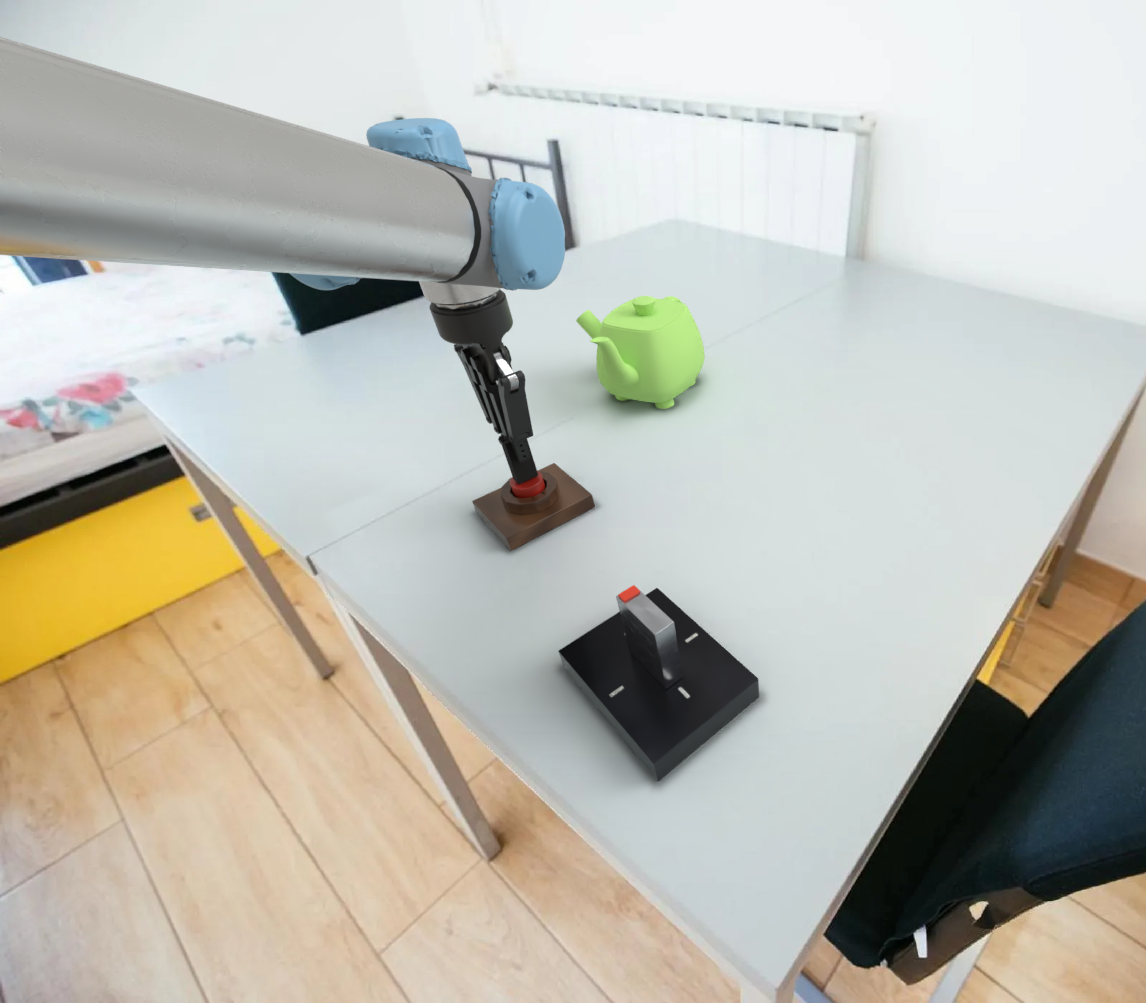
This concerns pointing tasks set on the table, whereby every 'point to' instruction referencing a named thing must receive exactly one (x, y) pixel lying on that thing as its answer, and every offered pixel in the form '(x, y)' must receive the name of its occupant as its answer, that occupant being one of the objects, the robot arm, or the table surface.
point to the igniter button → (528, 487)
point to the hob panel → (661, 688)
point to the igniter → (533, 508)
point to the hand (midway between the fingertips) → (525, 477)
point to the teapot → (646, 349)
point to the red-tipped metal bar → (650, 636)
